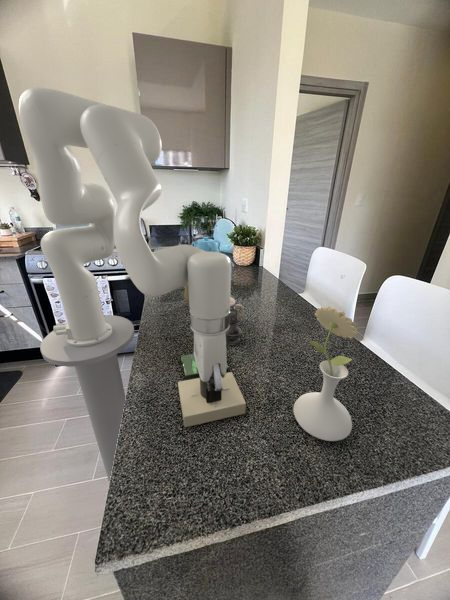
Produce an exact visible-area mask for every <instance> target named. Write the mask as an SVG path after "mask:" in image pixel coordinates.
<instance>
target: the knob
mask: <svg viewBox="0 0 450 600" xmlns="http://www.w3.org/2000/svg"><path fill="white" fill-rule="evenodd" d="M210 382H211V384H213V383H214V379H210ZM206 387H207V381H205V382H203V381H202V380H201V378H200V394H201V396H202V397H203V398H205V399H206Z"/></svg>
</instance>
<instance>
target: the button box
mask: <svg viewBox="0 0 450 600" xmlns="http://www.w3.org/2000/svg"><path fill="white" fill-rule="evenodd" d="M180 358H181V366H182V371H183V376H184V381H185V380H191V379H196V378H200V375H199V372H198V369H197V365H196V361H195V357H194V351H193V352H192V353H188V354H184V355H183V354H182V355H181V356H180ZM229 369H230V368H229V365H228V364H227V365H226V373H229Z"/></svg>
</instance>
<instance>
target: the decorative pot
mask: <svg viewBox="0 0 450 600" xmlns="http://www.w3.org/2000/svg"><path fill="white" fill-rule="evenodd" d="M217 243H218V245H217ZM190 245H191V246H194V247H197V248H199V249H201V250H204V251H206V252H219V253H222V250H221V249H220V247H221V242H220V241H219V240H218V239H212V238H209V237H208V236H203V238H200V239H199V238H198V239H197V240H196V241H195V240H194V241H193V242H191V244H190Z"/></svg>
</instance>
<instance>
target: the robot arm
mask: <svg viewBox="0 0 450 600" xmlns="http://www.w3.org/2000/svg"><path fill="white" fill-rule="evenodd" d="M18 114H19V115H18V116H19V120H20V124H21V128H22V131H23V134H24V137H25V138H26V140H27V142H28V146H29V147H30V149H31V152H32V155H33V157H34V162H35V167H36V175H37V181H38V187H39V188H38V189H39V193H40V194H39V195H40V199H41V205H42V210H43V213H44V215H45V217H46V219H47V221H48V222H50V223H51V224H53V225H56V226H61V227H65V228H59V229H54V230H50V231H49V232H47V233H45V234H44V235H43V236H42V238H40V248H41V252H42V254H43V256H44V258H45V260H46V262H47V264H48V266H49V268H50V270H51V273H52V275H53V279H54V281H55V284H56V287H57V291H58V294H59V297H60V300H61V304H62V308H63V310H64V314H65V318H66V323H65V324H66V325H64V324H58V325H53V330H52V331H54V332H56V335H62V334H65V335H66V341H67V343H68V344H69V345H71V346H75V347H85V346H91V345H95V344H98V343H100V342H102V341H104V340H106V339H107V338H108V337H109V336H110V335H111V334H112V326H111V325H110V324H108V323H105V319H104V315H105V314H104V311H103V306H102V301H101V296H100V291H99V286H98V282H97V279H96V277H95V275H94V274H93V273H92V272H91V271H90V270H88V269H87V268H86V267H85V264H89V263H93V262H97V261H100V260H104V259H107V258H109V257H111V256H112V255H113V253H114V251H115V250H116V254H117V256H118V258H119V260H120V262H121V264H122V265H123V267H124V269H125V272H126V273H127V275H128V277H129V278H130V280H131V281H132V283H133V285H134V286H135V288H136V289H137V290H138V291H139V292H141V294H143V295H145V296H147V297H150V298H159V297H162V296H164V295H166V294H170V293H171V292H173V291H175V290H178V289H180V288H182V287H185V285H188V291H189V307H188V309H189V310H188V311H189V327H190V330H191V331H192V332H193V352H194V357H195V361H196V365H197V369H198V372H199V375H200V378H201V380H202V381H203V382H205V381H207V387H206V402H207V403H211V402H216V401H220V400H221V396H222V390H223V388H222V381H221V376H222V377H223V378H224V377H225V376H226V365H228V363H227V344H226V335H225V332H226V331H227V330H228V329H229V327H230V297H231V291H232V260H231V258H229V257H230V256H228V255H226V254H225V253H222V252H220V253H219V251H218V252H206V251H204V250H201V249H199V248H197V247H195V245H193V246H191V244H185V243H184V244H177V245H174V246H170V247H165V248H162V249H158V250H155V251H152V250H151V248H150V246H149V244H148V242H147V240H146V238H145V235H144V233H143V229H142V224H141V220H142V219H141V218H142V217H141V216H142V212H143V211H145V210H146V209H148V208H149V207H151V206H152V205H153V204H155V202H156V201H157V200H159V198H160V196H162V195H161V194H162V184H161V182H160V181H159V179H158V176H157V175H156V173H155V171H154V169H153V167H152V165H151V164H154V163H156V162H157V161H158V160H159V158H160V157H161V153H162V149H163V148H162V147H163V144H162V137H161V135H160V131H159V130H158V127H157V126H156V125H155V123H154V122H153V121H152V119H150V118H149V117H147V116H146V115H144V114H142V113H137V112H134V111H131V110H127V109H124V108H121V107H117V106H113V105H110V104H105V103H102V102H99V101H95V100H92V99H89V98H85V97H82V96H79V95H75V94H72V93H68V92H65V91H61V90H57V89H52V88H47V87H30V88H27V89H26V90H24V91H23V92H22V94H21V95H20V97H19V102H18ZM71 147H78V148H84V149H88V150H89V152H90V154H91V156H92V157H93V160H94V161H95V163H96V165H97V167H98V169H99V171H100V173H101V175H102V177H103V178H104V180H105V182H106V185H107V186H108V189H109V190H110V192H111V194H112V195H111V194H110V193H109V191H108V190H107V188H105V187H104V186H103V185H100V184H97V183H92V182H91V183H90V182H89V183H88V182H87V183H84V181H83V169H82V164H81V162H80V159H79V158H78V156H77V155H76V153H75V152H74V150H73V149H72V148H71ZM112 196H113V198H114V199H115V201H116V205H117V208H116V211H115V204H114V200H113V198H112ZM80 225H83V226H80ZM70 226H75V227H70ZM210 379H214V383H213V384H211V382H210Z"/></svg>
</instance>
